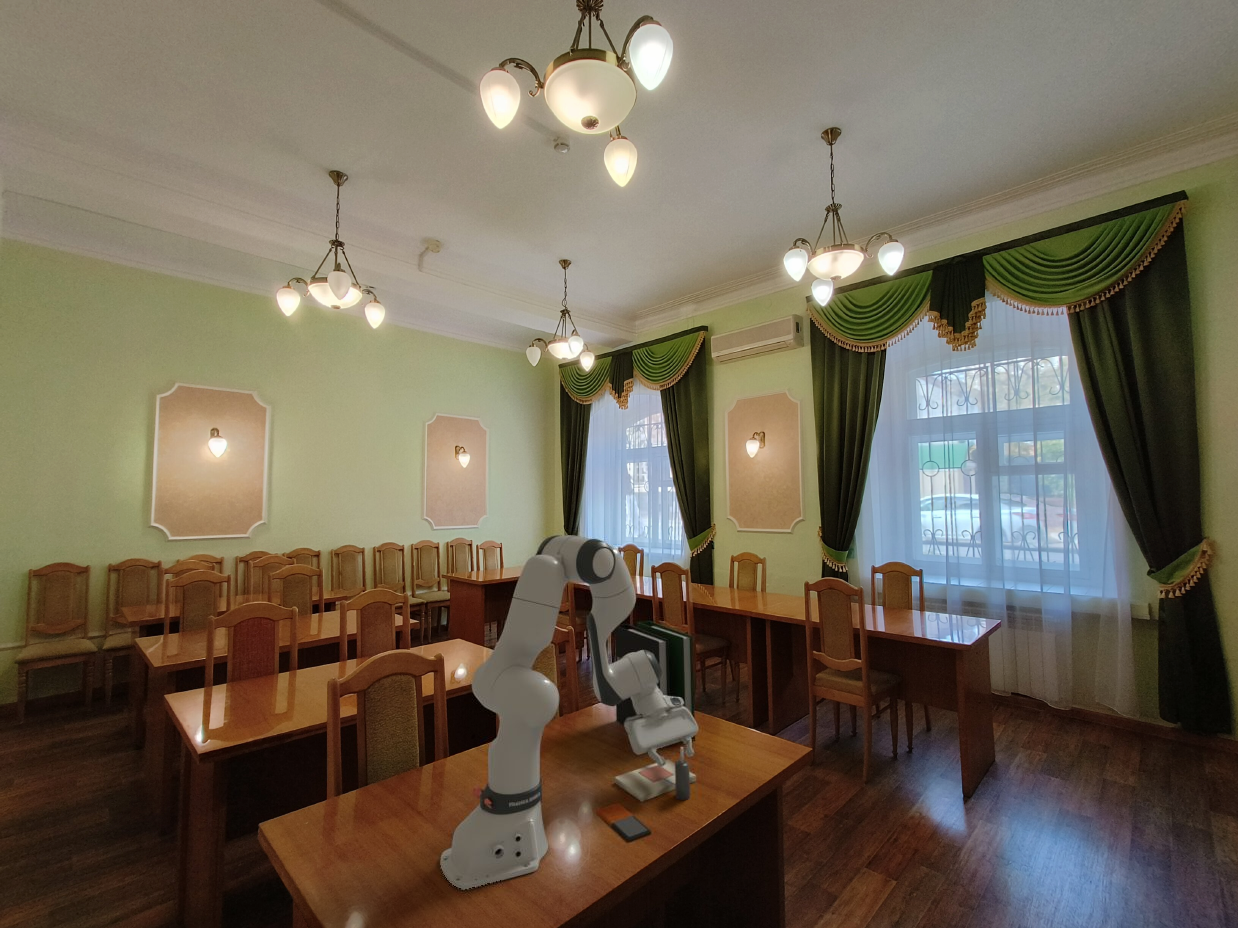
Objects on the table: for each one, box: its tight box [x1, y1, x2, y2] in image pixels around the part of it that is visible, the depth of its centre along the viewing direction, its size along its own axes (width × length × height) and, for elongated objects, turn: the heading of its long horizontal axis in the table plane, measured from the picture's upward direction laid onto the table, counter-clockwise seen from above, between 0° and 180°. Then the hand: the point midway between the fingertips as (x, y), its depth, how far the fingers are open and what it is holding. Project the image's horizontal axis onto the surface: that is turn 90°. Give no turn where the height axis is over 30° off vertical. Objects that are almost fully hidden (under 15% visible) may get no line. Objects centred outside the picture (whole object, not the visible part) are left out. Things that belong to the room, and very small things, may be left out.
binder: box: [614, 620, 696, 750], centre depth 191 cm, size 27×15×32 cm, turn 28°
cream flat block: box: [614, 758, 697, 802], centre depth 155 cm, size 18×12×2 cm, turn 124°
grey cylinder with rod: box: [674, 746, 691, 801], centre depth 147 cm, size 4×4×12 cm
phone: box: [596, 802, 652, 843], centre depth 136 cm, size 6×1×15 cm
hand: (677, 760), depth 149 cm, fingers open, 8 cm apart
